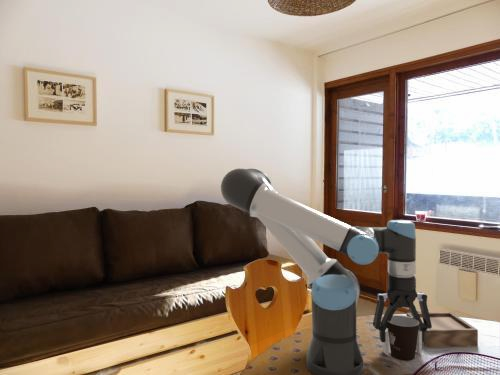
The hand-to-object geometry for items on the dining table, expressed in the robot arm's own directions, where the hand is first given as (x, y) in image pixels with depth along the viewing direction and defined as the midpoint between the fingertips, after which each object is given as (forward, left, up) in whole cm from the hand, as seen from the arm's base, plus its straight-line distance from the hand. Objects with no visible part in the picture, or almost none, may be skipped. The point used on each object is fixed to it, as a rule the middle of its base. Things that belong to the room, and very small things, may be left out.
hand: (402, 352), depth 110 cm
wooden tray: (+16, +11, 0) cm, 20 cm away
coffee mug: (0, 0, -1) cm, 1 cm away
